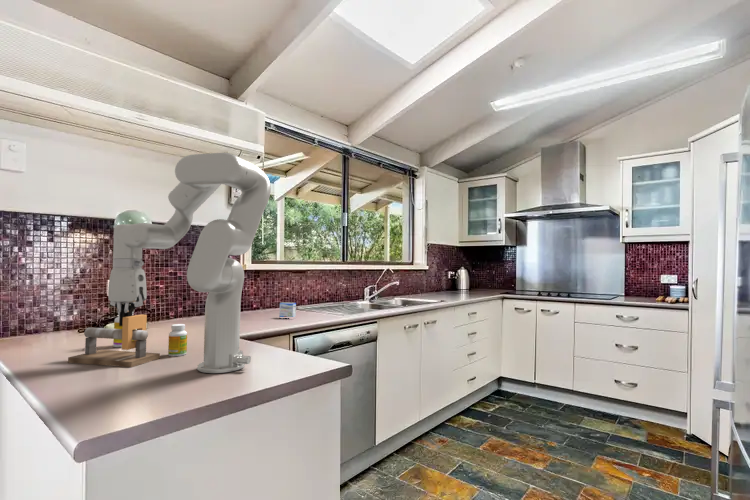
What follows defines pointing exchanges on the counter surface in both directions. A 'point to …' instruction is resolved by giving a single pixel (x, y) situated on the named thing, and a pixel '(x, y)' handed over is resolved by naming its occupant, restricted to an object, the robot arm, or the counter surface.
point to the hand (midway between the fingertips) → (125, 325)
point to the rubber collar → (129, 325)
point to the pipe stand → (110, 355)
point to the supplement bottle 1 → (116, 326)
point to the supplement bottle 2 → (177, 340)
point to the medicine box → (287, 310)
